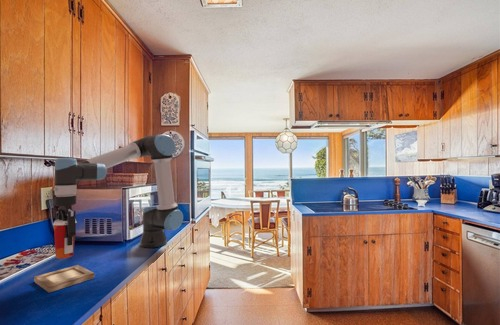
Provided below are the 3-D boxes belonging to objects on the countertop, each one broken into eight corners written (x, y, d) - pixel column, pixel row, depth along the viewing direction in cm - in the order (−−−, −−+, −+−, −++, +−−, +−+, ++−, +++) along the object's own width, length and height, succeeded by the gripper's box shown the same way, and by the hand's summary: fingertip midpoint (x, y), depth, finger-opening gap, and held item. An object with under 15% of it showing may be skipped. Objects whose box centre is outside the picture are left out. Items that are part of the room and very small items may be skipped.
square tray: (77, 269, 122) (77, 264, 122) (94, 278, 113) (94, 273, 113) (34, 281, 109) (34, 276, 109) (48, 292, 100) (48, 286, 100)
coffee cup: (69, 252, 117) (69, 217, 117) (80, 254, 113) (81, 218, 113) (47, 257, 109) (48, 220, 109) (58, 261, 105) (59, 222, 106)
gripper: (45, 194, 114) (44, 249, 114) (65, 197, 103) (64, 258, 102) (65, 193, 120) (65, 245, 120) (86, 196, 109) (85, 253, 108)
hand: (64, 251), depth 111 cm, fingers closed on coffee cup, 7 cm apart
